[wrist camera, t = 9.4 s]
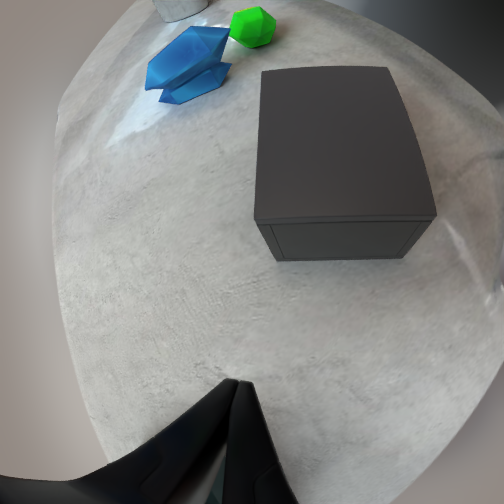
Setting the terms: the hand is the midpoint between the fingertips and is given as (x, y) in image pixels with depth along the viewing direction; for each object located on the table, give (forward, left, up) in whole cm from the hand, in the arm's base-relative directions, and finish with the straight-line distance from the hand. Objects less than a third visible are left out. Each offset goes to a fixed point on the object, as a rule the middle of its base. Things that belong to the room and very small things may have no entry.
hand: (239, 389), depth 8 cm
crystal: (+23, -20, -12) cm, 32 cm away
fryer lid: (+3, -14, -5) cm, 15 cm away
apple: (+23, -31, -12) cm, 41 cm away
